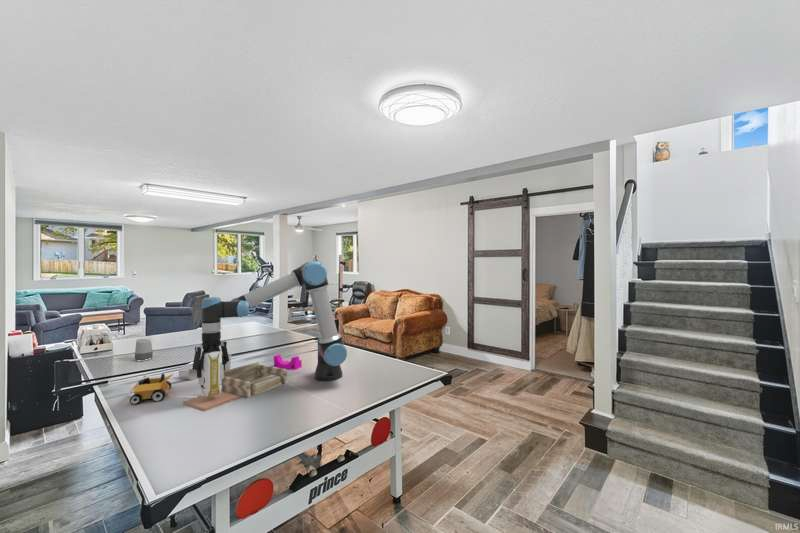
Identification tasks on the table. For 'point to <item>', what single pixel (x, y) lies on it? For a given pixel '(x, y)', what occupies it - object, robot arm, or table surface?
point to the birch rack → (249, 377)
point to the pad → (210, 401)
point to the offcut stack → (264, 384)
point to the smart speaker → (143, 349)
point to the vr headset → (188, 372)
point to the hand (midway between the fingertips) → (211, 381)
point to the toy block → (287, 363)
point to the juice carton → (212, 373)
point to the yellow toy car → (151, 389)
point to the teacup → (228, 363)
